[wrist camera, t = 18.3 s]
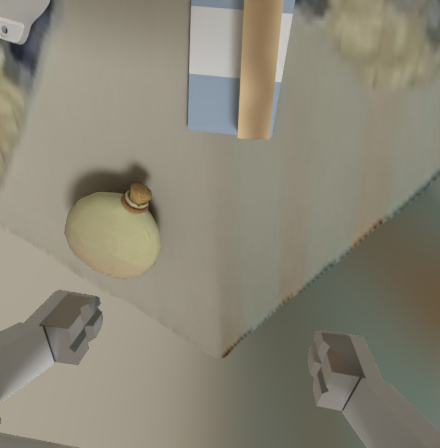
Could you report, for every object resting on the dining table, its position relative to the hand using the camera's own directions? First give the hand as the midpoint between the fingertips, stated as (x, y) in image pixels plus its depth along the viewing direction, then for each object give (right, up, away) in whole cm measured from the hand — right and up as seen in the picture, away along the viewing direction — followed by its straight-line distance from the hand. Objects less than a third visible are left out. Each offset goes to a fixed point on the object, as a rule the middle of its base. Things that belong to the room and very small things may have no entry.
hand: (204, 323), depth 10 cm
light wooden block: (+5, +25, +22) cm, 34 cm away
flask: (-15, +5, +37) cm, 40 cm away
